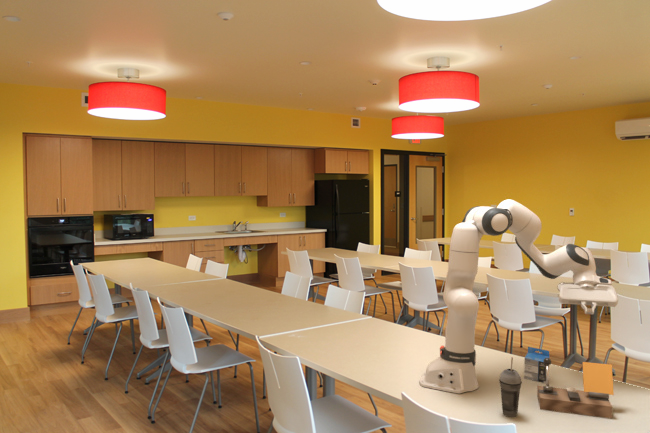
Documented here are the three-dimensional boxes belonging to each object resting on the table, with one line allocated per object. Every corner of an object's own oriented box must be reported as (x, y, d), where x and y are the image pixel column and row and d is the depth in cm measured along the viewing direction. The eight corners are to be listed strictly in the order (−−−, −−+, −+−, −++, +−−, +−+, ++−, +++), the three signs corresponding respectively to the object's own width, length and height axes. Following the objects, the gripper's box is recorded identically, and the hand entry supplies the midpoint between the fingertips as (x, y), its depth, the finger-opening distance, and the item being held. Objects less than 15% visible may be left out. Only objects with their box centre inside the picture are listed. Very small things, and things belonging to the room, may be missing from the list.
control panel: (540, 409, 171) (540, 394, 171) (537, 396, 182) (537, 382, 182) (612, 418, 164) (612, 403, 163) (604, 404, 175) (604, 389, 175)
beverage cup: (516, 410, 170) (516, 352, 170) (525, 419, 163) (526, 359, 162) (495, 410, 170) (495, 353, 169) (503, 419, 163) (504, 360, 162)
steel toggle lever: (543, 391, 174) (543, 357, 178) (543, 391, 177) (542, 357, 180) (553, 392, 173) (552, 357, 177) (552, 392, 176) (551, 358, 179)
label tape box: (523, 378, 200) (523, 348, 200) (527, 375, 203) (527, 346, 203) (545, 383, 194) (546, 353, 194) (549, 381, 197) (550, 350, 197)
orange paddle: (584, 395, 170) (583, 361, 174) (583, 395, 172) (582, 362, 176) (614, 399, 168) (611, 364, 171) (612, 399, 169) (610, 364, 173)
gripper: (557, 277, 198) (560, 306, 189) (615, 280, 191) (621, 310, 182) (556, 286, 202) (558, 315, 193) (613, 289, 195) (618, 319, 186)
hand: (589, 313), depth 187 cm, fingers closed
